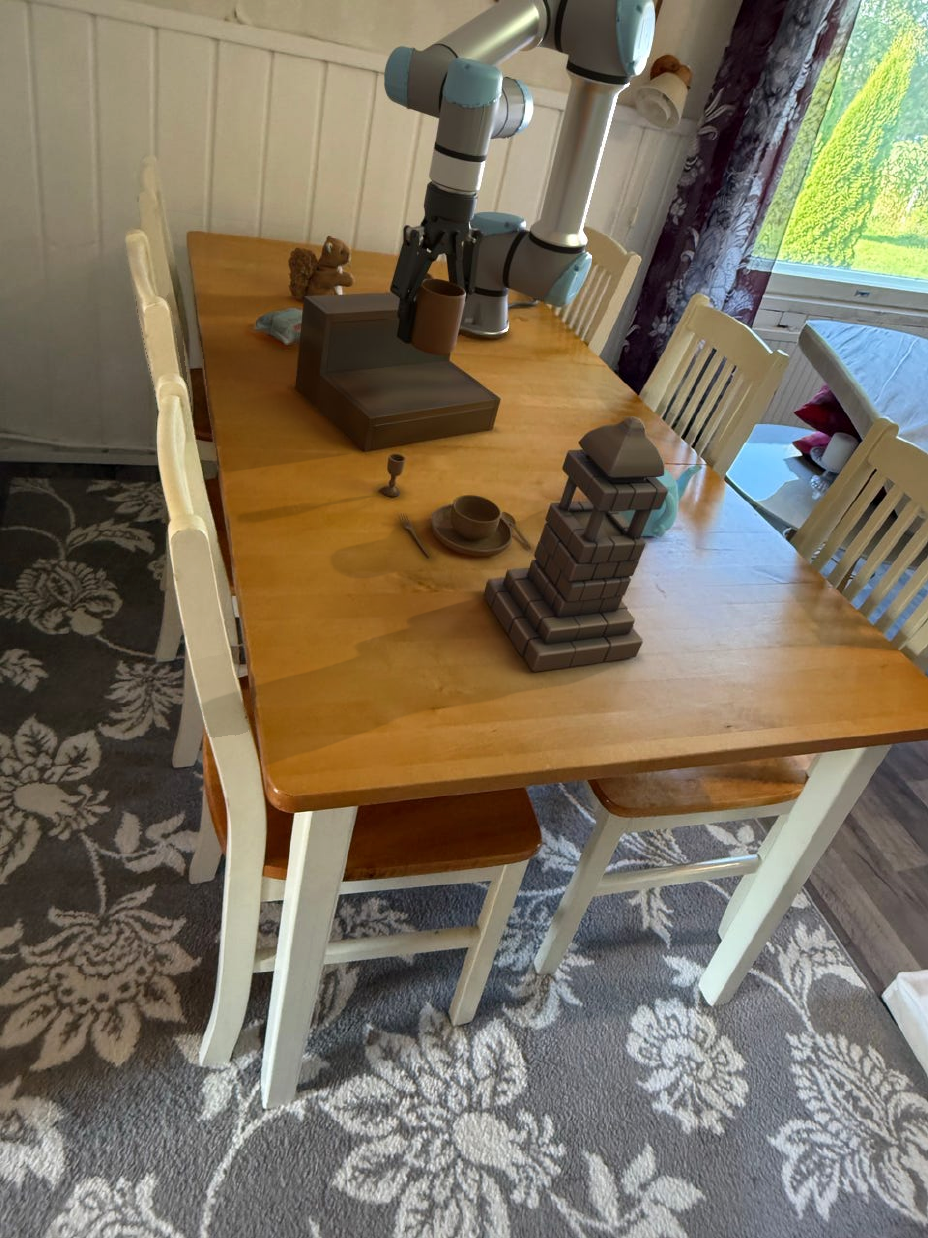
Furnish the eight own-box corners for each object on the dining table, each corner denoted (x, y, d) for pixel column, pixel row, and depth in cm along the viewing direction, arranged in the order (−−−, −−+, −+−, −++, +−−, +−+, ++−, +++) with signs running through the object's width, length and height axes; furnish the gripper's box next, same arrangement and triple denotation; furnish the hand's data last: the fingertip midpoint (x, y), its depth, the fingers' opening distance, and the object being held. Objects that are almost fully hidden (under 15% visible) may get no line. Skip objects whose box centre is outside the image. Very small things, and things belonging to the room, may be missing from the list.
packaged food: (329, 341, 164) (331, 316, 161) (285, 354, 156) (287, 328, 153) (295, 325, 167) (297, 300, 164) (251, 336, 159) (252, 310, 156)
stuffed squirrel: (348, 317, 176) (356, 252, 167) (279, 302, 174) (284, 235, 166) (353, 301, 183) (362, 237, 175) (288, 286, 182) (293, 221, 174)
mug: (392, 322, 140) (402, 264, 135) (435, 325, 144) (446, 268, 138) (417, 355, 132) (428, 295, 127) (461, 357, 136) (474, 298, 130)
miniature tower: (531, 674, 103) (610, 455, 84) (481, 596, 112) (543, 385, 94) (639, 658, 110) (735, 453, 91) (584, 586, 119) (660, 388, 101)
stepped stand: (492, 429, 151) (515, 342, 141) (364, 451, 135) (379, 356, 125) (421, 373, 162) (437, 289, 152) (294, 388, 146) (303, 295, 136)
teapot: (579, 525, 133) (601, 464, 125) (609, 487, 143) (631, 428, 136) (654, 560, 130) (681, 500, 123) (678, 518, 140) (705, 460, 133)
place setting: (432, 568, 115) (440, 532, 111) (375, 487, 127) (381, 453, 124) (539, 554, 123) (550, 520, 119) (476, 480, 136) (484, 447, 132)
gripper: (490, 180, 131) (458, 324, 145) (380, 174, 119) (358, 332, 133) (521, 197, 127) (486, 343, 141) (411, 192, 115) (384, 353, 129)
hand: (424, 338), depth 137 cm, fingers closed on mug, 7 cm apart
